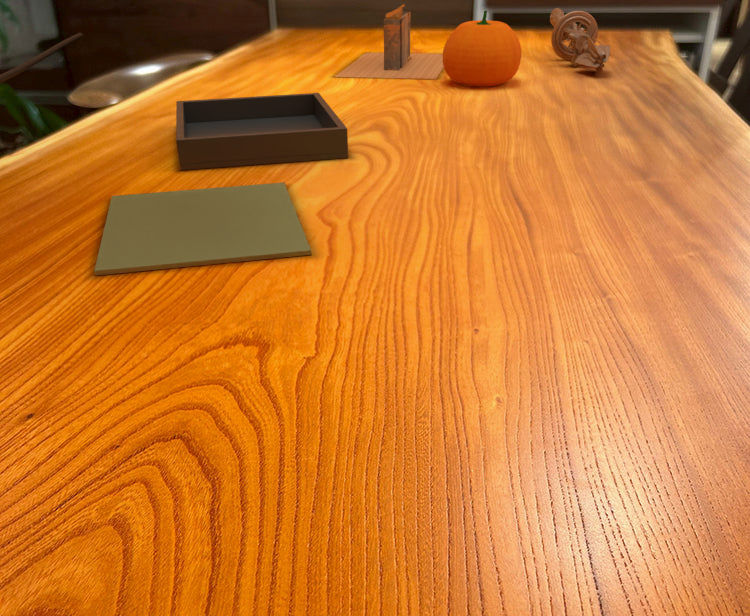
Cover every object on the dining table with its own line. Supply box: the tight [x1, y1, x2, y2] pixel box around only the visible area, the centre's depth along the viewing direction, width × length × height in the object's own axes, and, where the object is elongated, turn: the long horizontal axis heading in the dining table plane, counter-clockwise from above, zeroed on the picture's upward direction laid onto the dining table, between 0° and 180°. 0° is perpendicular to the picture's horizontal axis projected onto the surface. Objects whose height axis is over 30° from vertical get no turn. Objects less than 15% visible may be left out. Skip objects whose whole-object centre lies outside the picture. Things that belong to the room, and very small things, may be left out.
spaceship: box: [549, 7, 611, 73], centre depth 132 cm, size 8×35×8 cm
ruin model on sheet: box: [334, 3, 444, 80], centre depth 131 cm, size 25×16×10 cm, turn 169°
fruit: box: [442, 10, 522, 87], centre depth 115 cm, size 12×12×10 cm
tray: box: [175, 92, 349, 171], centre depth 89 cm, size 20×18×3 cm
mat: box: [93, 182, 313, 276], centre depth 65 cm, size 18×16×1 cm
